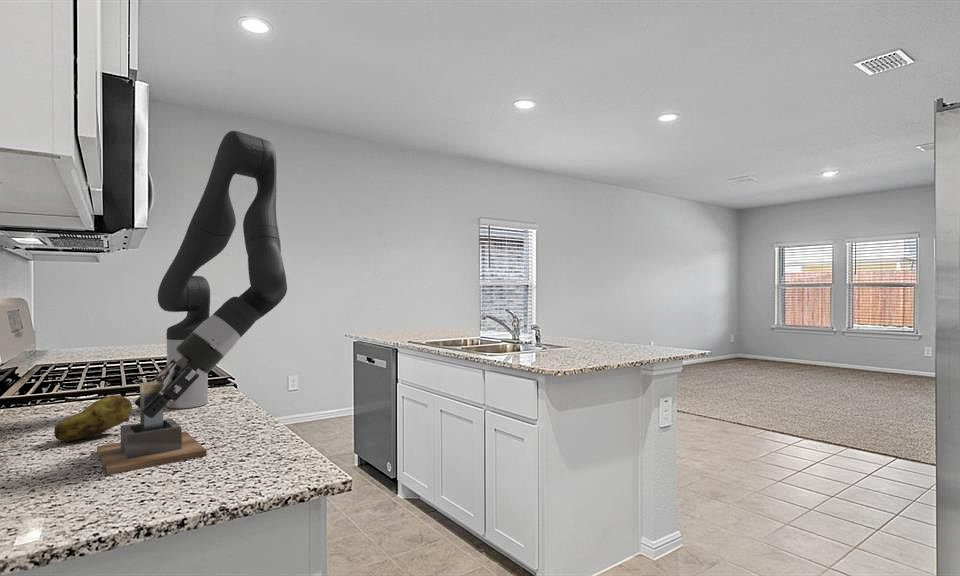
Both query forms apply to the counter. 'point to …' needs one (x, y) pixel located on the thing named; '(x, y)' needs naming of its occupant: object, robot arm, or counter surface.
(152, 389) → the tall square pillar
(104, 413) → the potato
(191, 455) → the well board
